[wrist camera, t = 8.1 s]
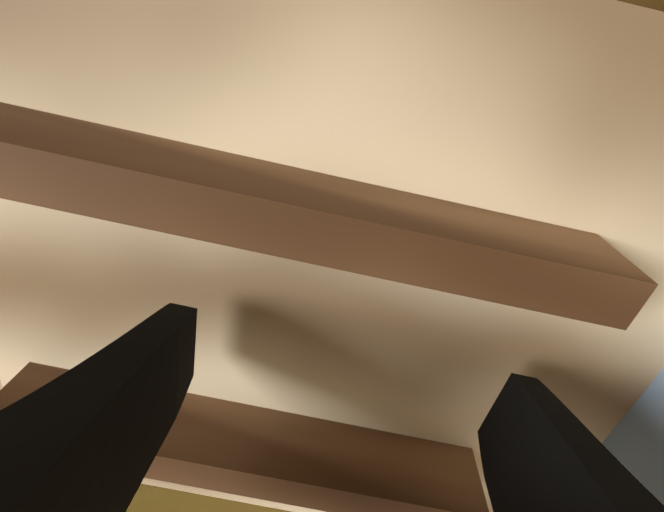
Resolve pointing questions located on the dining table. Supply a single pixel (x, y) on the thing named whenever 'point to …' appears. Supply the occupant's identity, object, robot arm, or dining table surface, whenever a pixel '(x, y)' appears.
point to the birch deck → (356, 164)
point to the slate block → (643, 439)
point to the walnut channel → (319, 249)
